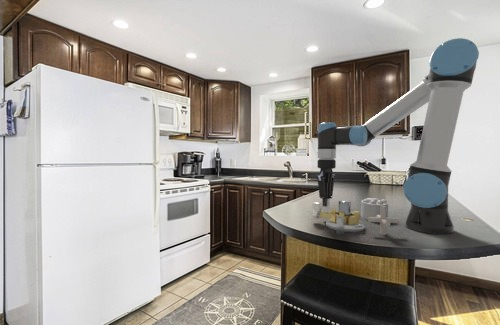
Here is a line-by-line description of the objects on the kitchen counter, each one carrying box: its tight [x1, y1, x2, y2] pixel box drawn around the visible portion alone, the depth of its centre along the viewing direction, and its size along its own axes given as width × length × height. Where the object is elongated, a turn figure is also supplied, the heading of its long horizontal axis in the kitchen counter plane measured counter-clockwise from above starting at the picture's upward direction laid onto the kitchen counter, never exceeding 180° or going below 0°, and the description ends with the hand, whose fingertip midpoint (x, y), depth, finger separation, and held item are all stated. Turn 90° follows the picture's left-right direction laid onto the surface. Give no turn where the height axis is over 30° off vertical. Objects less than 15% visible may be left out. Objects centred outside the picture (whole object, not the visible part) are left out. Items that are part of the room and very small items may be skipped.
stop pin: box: [335, 217, 344, 236], centre depth 91 cm, size 2×2×6 cm
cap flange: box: [325, 200, 365, 233], centre depth 101 cm, size 14×14×10 cm
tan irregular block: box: [312, 201, 361, 225], centre depth 103 cm, size 18×11×6 cm, turn 57°
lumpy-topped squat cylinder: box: [360, 197, 389, 220], centre depth 116 cm, size 10×13×9 cm
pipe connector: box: [366, 206, 400, 236], centre depth 91 cm, size 10×10×10 cm
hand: (325, 213), depth 111 cm, fingers closed
